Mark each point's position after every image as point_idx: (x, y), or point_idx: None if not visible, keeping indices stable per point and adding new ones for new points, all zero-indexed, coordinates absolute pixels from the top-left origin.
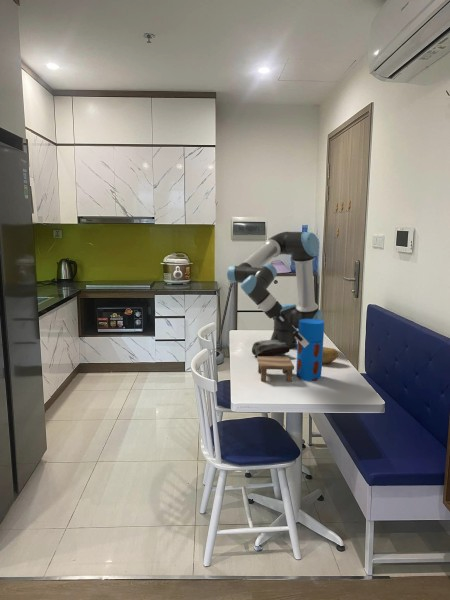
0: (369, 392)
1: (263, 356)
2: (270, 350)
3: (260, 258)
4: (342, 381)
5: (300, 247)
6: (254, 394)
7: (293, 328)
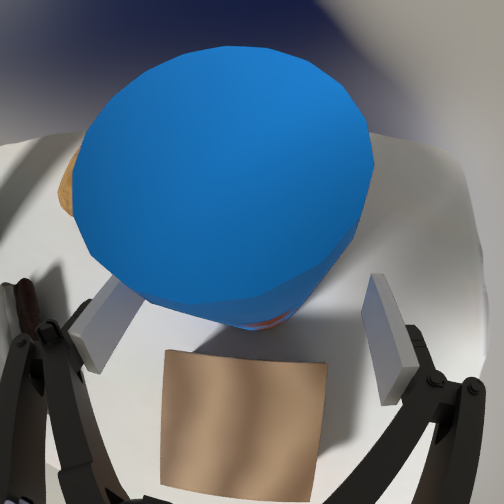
0: (394, 140)
1: (161, 462)
2: None
3: None
4: None
5: None
6: (410, 487)
7: (477, 436)
